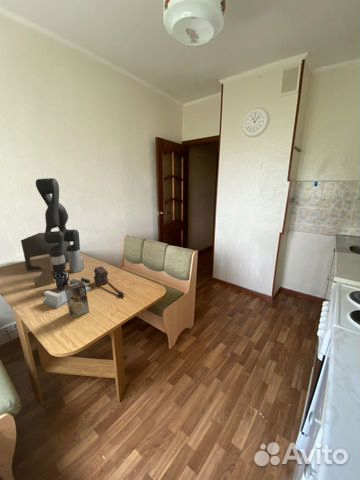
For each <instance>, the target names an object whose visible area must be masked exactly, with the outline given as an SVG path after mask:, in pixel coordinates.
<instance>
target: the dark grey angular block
mask: <svg viewBox="0 0 360 480" xmlns="http://www.w3.org/2000/svg"><path fill="white" fill-rule="evenodd" d="M44 234H45V232H38V233H35V234H33V235H30V236H28V237H26V238H25V237H24V239H21V240H20V242H21V248H22V251H23V252H22V253H23V256H24V257H23V258H24V261H25V267H26V270H27V271H37V270H39V271H42V269H41V268H40V267H37V266H31V264H30V259H29V258H30V257H35V256H40V255H46V254H49V255H50V258H51V254H50V248H51V247H52V246H56V245H58V242H57V243H46V242H45V240H44ZM70 245H72V244H71V242H65V241H63V253H64V257H65V262H66V264H69V262H68V255H67V249H66V248H67V247H68V246H70ZM51 264H52V262H51ZM52 269H53V268H52Z"/></svg>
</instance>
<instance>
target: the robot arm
mask: <svg viewBox="0 0 360 480" xmlns="http://www.w3.org/2000/svg"><path fill="white" fill-rule="evenodd" d="M35 187H36V190H37V191H38V193H39V195H40V196H41V198H42V199H43V201H44V203H45V204H46V205H47V208H46V210H45V214H44V215H45V217H44V218H45V231H44V233H45V234H44V240H45V242H46V243H57V242H58V245H56V246H52V247H51V248H50V254H51V262H52V268H53V271H52V274H53V277H54V280H55V276H59V277H61V279H62V281H63V287H64V286H65V285H67V281H68V282H70V273H73V274H75V273H79V272H81V271H83V270H84V261H83V259H84V258H83V257H82V255H81V243H80V232H79V231H78V229H67V227H66V225H67V223H68V219H69V213H68V212H67V210H66V208H65V206H64V204H61V203H60V185H59V183H58V181H57V179H56V178H52V177H51V178H38V179H36V180H35ZM56 228H58V230H55V231H53V229H56ZM63 241H65V242H70V243H72V244H71V245H70V246H68V247H67V248H66V249H67V255H68V268H69V272H67V271H66V269H67V263H66V262H65V257H64V253H63ZM63 276H64V277H63ZM62 277H63V278H62Z"/></svg>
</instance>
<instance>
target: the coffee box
mask: <svg viewBox="0 0 360 480" xmlns="http://www.w3.org/2000/svg"><path fill="white" fill-rule="evenodd" d="M80 281H81V280H80ZM68 284H69V285H65V286H64V288H65V293H66V298H67V303H66V304H67V309H68V314H69V316H70V319H73V318H77V317H79V316H82V315H85V314H87V313H90V307H89V301H88V296H87V292H86V287H85V285H86V283H85V284H84V283H83V281H81V282H77V283H73V284H70V283H68Z"/></svg>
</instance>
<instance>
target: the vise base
mask: <svg viewBox="0 0 360 480" xmlns="http://www.w3.org/2000/svg"><path fill="white" fill-rule="evenodd" d="M90 291H91V287H90V286H87V285H86V293H87V292H90ZM43 294H44V298H45V299H44V300H42V301H43V304H44V305H47V306H49V307H53V308H56V309H59V308H61V307H62V306H65V305H66V304H67V298H66V293H65V290H63V291H60V292H58V293H57V292H53V291H51V290H46V291H44V293H43Z"/></svg>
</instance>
